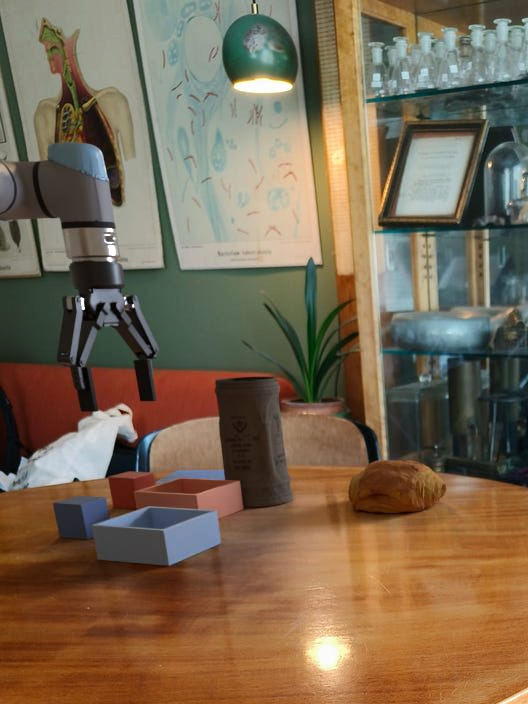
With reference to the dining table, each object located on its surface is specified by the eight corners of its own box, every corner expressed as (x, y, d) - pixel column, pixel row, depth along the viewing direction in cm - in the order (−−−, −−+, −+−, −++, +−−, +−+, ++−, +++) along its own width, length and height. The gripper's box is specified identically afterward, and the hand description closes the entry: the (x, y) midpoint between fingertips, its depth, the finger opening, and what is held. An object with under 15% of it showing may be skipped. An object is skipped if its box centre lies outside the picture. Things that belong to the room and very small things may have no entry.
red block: (113, 507, 144) (107, 476, 142) (133, 501, 148) (128, 471, 146) (138, 509, 142) (133, 478, 140) (158, 502, 146) (153, 472, 145)
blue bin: (97, 559, 115) (90, 525, 113) (153, 538, 124) (148, 506, 123) (169, 566, 111) (163, 530, 109) (221, 543, 121) (217, 510, 119)
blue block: (59, 537, 126) (52, 502, 124) (84, 528, 130) (78, 495, 129) (87, 539, 124) (80, 504, 123) (112, 531, 129) (106, 497, 127)
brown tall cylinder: (285, 507, 140) (274, 376, 134) (218, 509, 140) (203, 378, 134) (303, 494, 155) (294, 375, 149) (242, 495, 155) (230, 376, 149)
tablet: (278, 474, 167) (277, 467, 167) (261, 488, 156) (260, 480, 155) (178, 476, 168) (177, 469, 168) (153, 489, 156) (152, 482, 156)
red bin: (138, 521, 134) (133, 491, 132) (184, 505, 144) (180, 477, 142) (200, 526, 130) (196, 495, 129) (243, 509, 140) (240, 480, 139)
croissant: (373, 506, 150) (364, 458, 148) (457, 497, 144) (450, 448, 142) (332, 523, 137) (322, 472, 135) (423, 515, 131) (414, 461, 129)
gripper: (52, 257, 120) (82, 416, 128) (168, 261, 142) (188, 397, 150) (9, 260, 123) (42, 416, 131) (130, 263, 145) (152, 397, 152)
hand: (120, 406), depth 140 cm, fingers open, 13 cm apart
